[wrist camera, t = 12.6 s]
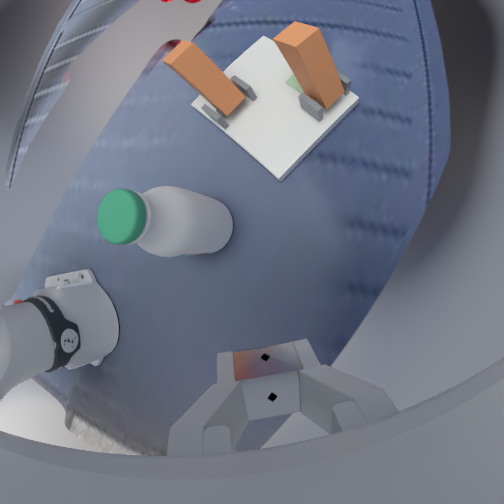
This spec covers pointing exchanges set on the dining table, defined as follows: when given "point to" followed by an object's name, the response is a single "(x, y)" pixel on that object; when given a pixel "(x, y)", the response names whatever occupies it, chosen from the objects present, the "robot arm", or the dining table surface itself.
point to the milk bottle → (165, 221)
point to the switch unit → (275, 110)
